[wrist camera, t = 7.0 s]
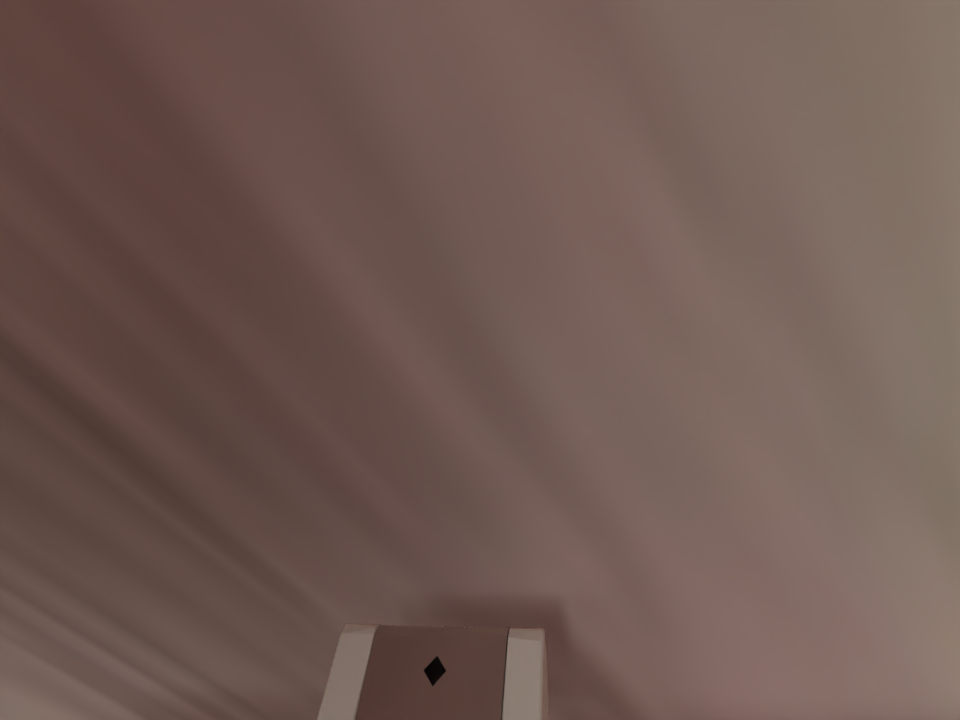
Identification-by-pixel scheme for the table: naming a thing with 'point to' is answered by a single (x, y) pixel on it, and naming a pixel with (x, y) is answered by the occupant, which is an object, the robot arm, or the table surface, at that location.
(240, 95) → the table surface
